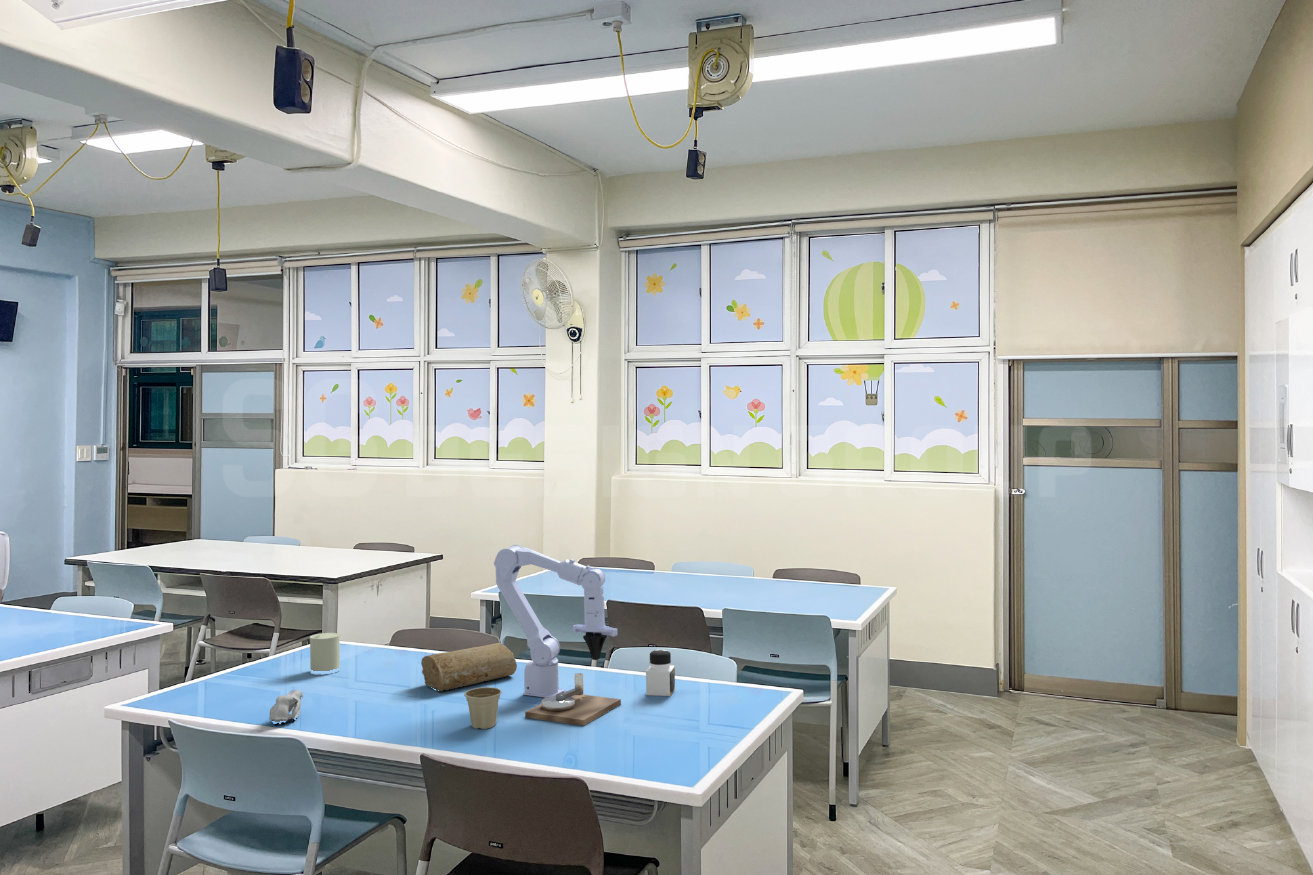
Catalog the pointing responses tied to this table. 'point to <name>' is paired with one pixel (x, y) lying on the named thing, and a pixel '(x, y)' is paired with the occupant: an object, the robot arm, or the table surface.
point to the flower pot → (483, 706)
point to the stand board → (577, 710)
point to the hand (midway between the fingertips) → (595, 659)
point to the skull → (286, 706)
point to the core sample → (468, 666)
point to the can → (324, 651)
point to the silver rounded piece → (564, 697)
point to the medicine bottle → (660, 674)
